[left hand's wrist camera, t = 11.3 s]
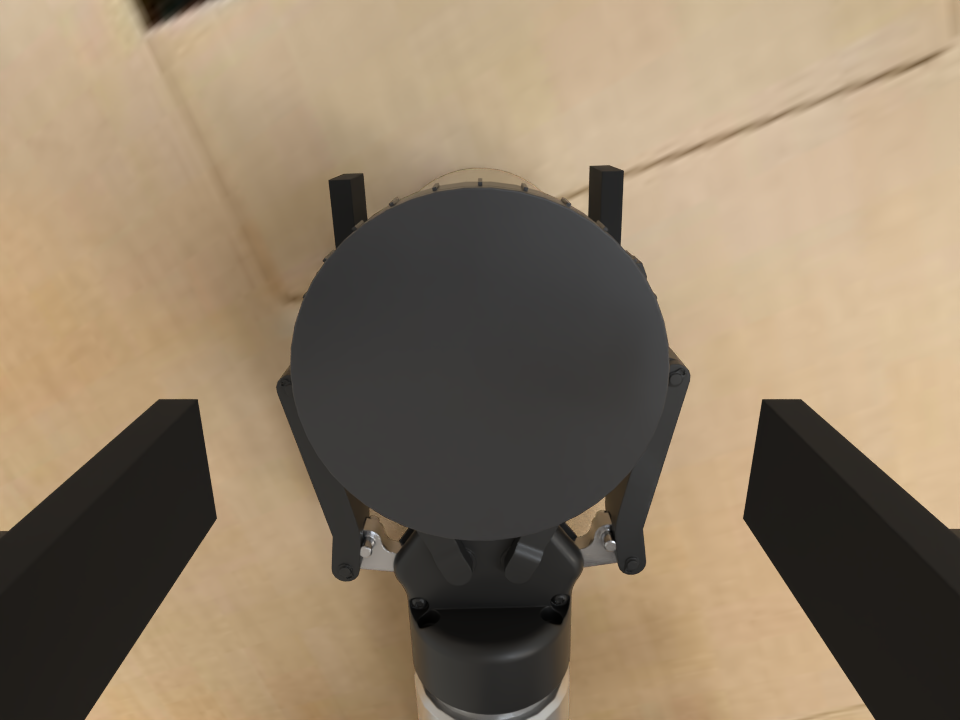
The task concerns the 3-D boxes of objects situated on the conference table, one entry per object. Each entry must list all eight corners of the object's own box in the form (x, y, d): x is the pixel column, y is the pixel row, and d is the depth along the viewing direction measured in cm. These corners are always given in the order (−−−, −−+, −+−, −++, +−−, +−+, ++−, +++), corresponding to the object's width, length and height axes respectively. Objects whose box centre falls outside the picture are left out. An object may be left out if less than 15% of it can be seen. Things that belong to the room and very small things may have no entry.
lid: (602, 122, 17) (614, 123, 15) (691, 456, 20) (709, 484, 18) (242, 253, 18) (220, 265, 16) (383, 548, 21) (375, 582, 19)
